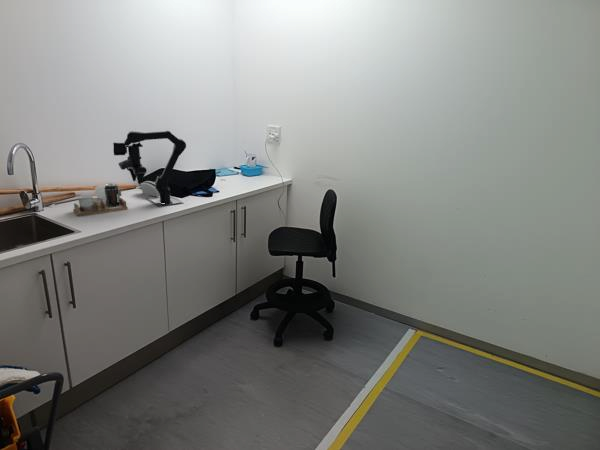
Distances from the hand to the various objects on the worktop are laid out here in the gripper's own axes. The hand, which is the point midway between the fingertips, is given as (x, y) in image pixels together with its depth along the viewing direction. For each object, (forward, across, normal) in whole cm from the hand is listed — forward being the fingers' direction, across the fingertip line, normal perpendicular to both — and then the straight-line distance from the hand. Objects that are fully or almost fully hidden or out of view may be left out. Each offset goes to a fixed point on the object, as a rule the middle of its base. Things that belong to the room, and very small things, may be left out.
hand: (136, 182), depth 228 cm
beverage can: (+12, +1, -14) cm, 18 cm away
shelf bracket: (+14, -14, -12) cm, 23 cm away
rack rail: (+13, +1, -20) cm, 24 cm away
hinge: (+13, -18, +14) cm, 26 cm away
